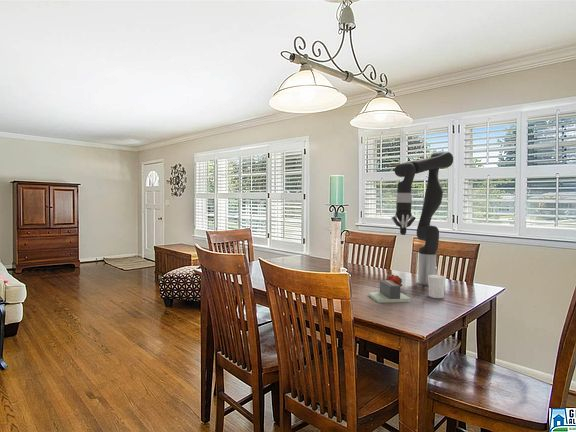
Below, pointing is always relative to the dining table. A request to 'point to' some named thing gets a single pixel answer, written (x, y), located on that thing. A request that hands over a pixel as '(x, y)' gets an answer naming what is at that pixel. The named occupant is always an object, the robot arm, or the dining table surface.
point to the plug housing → (390, 289)
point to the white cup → (436, 286)
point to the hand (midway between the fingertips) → (402, 234)
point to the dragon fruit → (395, 279)
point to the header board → (382, 299)
